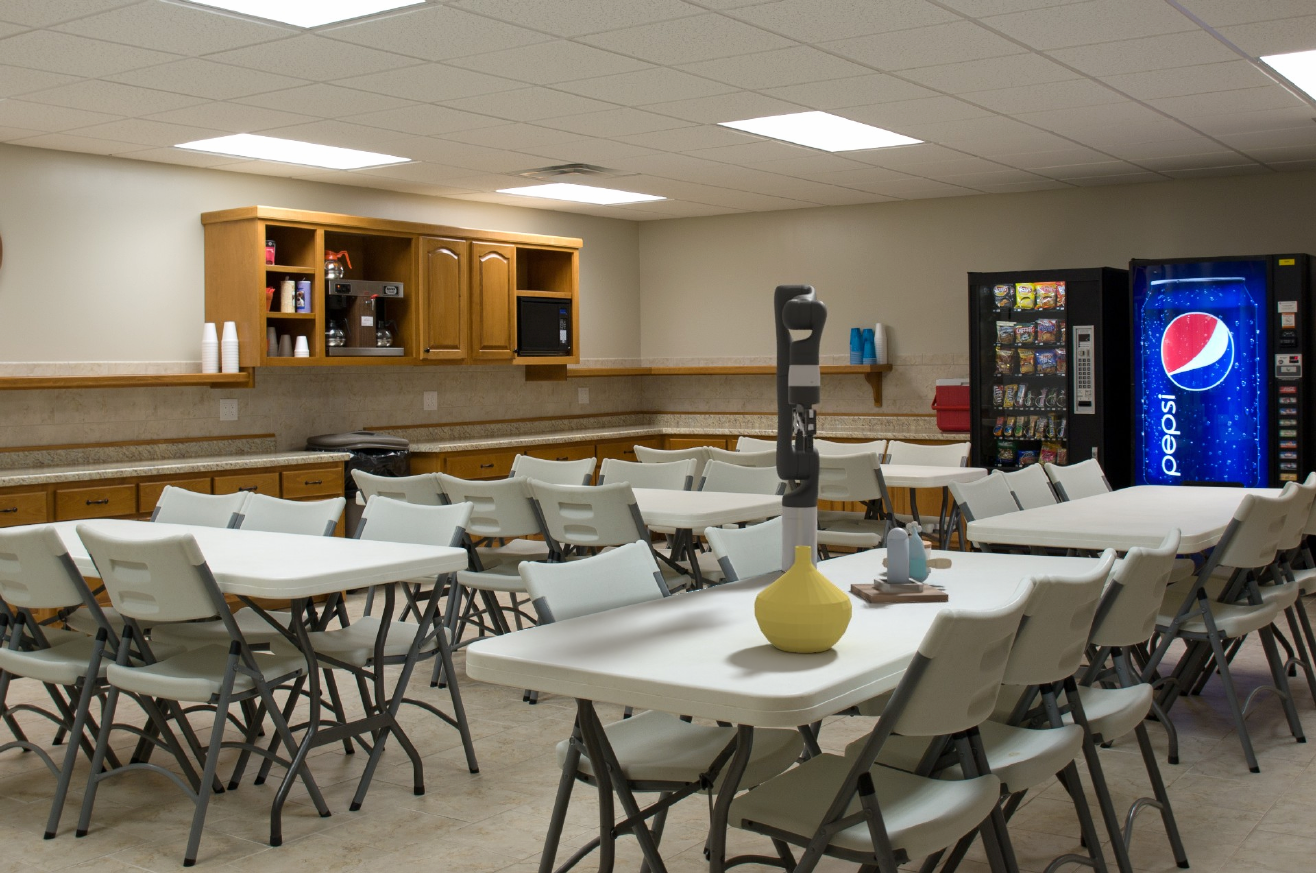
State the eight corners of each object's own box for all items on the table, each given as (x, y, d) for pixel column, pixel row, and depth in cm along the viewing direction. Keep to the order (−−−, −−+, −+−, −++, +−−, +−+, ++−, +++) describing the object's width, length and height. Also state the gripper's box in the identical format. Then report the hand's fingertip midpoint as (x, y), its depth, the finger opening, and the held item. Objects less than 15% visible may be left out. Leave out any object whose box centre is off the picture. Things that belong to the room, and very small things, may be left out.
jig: (850, 590, 299) (850, 576, 298) (922, 588, 301) (923, 575, 301) (871, 603, 282) (872, 588, 282) (948, 601, 284) (948, 586, 284)
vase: (855, 640, 242) (855, 542, 241) (847, 660, 224) (848, 555, 223) (761, 635, 246) (761, 539, 245) (747, 655, 228) (747, 551, 227)
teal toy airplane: (946, 580, 314) (947, 520, 313) (952, 587, 303) (952, 525, 303) (879, 579, 316) (879, 520, 315) (882, 585, 305) (883, 525, 304)
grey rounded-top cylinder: (884, 587, 293) (883, 526, 292) (904, 586, 294) (904, 525, 293) (891, 591, 288) (891, 529, 287) (912, 590, 289) (911, 528, 288)
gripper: (827, 384, 291) (827, 453, 291) (812, 384, 305) (811, 450, 306) (796, 384, 290) (795, 454, 291) (782, 384, 304) (781, 450, 305)
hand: (803, 452), depth 298 cm, fingers open, 8 cm apart
